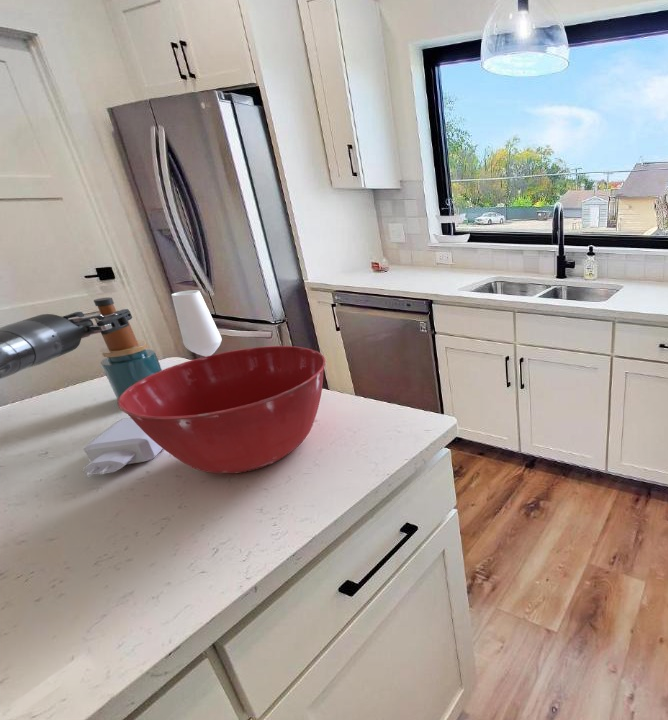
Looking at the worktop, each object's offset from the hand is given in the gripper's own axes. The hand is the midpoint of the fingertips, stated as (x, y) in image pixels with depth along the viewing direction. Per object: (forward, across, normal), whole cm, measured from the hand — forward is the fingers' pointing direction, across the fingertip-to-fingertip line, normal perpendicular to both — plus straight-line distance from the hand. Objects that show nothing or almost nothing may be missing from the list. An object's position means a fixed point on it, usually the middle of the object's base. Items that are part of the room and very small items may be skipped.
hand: (105, 315), depth 88 cm
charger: (-26, -14, +20) cm, 36 cm away
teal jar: (+1, 0, +20) cm, 20 cm away
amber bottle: (+1, 0, +8) cm, 8 cm away
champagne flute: (-1, -17, +20) cm, 26 cm away
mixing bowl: (-27, -35, +20) cm, 49 cm away
